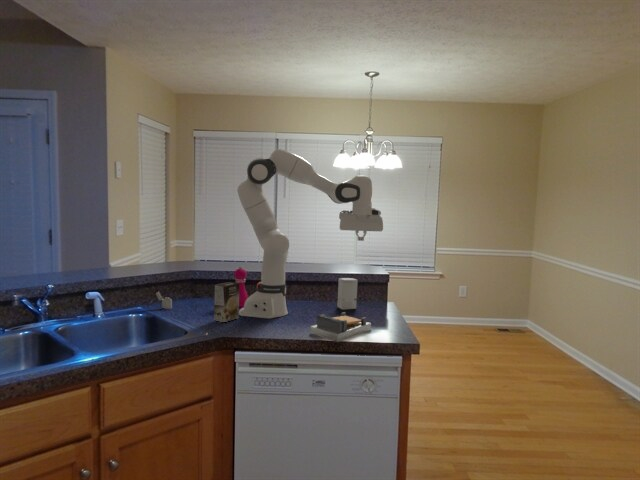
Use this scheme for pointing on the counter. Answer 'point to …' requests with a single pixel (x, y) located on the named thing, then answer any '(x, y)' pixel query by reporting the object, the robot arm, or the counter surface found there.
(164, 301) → the lighter
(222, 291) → the coffee box
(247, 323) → the counter surface
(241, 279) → the pepper mill
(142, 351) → the counter surface
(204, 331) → the counter surface
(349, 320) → the tan flat panel
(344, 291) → the skincare box
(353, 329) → the grey and white fixture
